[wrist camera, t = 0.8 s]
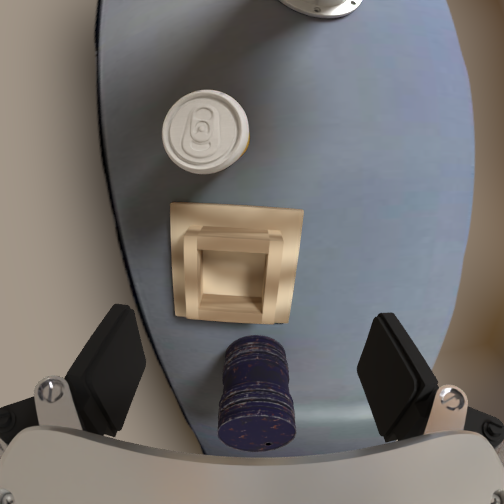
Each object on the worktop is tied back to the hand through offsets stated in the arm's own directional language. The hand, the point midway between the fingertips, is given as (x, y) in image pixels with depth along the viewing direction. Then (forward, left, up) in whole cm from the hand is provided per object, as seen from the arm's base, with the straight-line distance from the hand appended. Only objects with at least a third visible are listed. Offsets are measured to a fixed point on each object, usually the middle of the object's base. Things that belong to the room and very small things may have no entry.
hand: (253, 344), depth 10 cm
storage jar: (+24, +2, -25) cm, 35 cm away
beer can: (-8, -4, -25) cm, 27 cm away
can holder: (+8, -2, -25) cm, 26 cm away
